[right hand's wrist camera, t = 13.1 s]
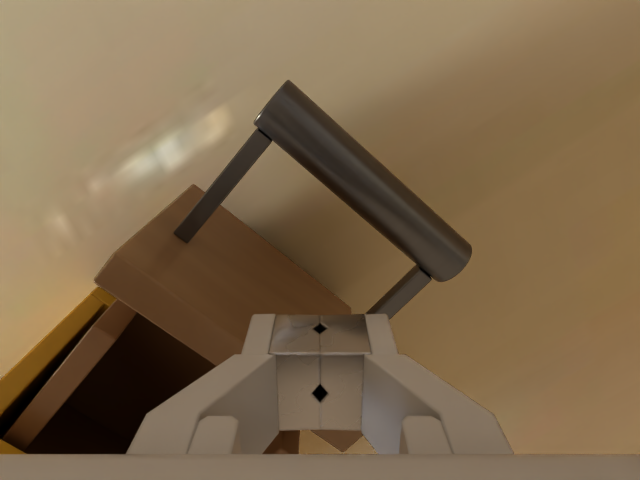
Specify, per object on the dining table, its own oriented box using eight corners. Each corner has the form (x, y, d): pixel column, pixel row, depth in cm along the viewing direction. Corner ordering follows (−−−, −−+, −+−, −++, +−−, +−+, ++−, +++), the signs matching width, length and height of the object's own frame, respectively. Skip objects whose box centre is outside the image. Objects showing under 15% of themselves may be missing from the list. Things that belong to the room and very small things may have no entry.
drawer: (284, 67, 18) (259, 62, 10) (445, 214, 20) (521, 299, 12) (39, 378, 23) (-97, 526, 16) (187, 468, 25) (131, 636, 18)
